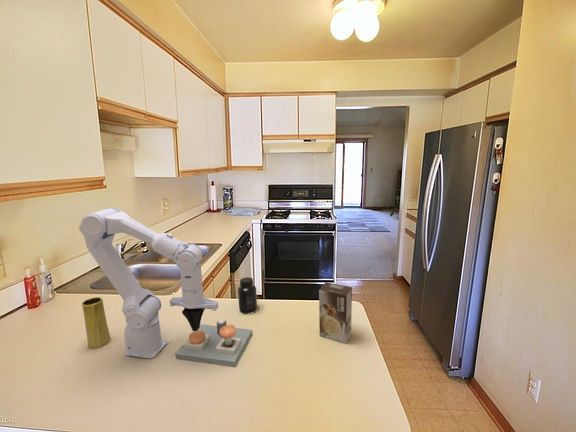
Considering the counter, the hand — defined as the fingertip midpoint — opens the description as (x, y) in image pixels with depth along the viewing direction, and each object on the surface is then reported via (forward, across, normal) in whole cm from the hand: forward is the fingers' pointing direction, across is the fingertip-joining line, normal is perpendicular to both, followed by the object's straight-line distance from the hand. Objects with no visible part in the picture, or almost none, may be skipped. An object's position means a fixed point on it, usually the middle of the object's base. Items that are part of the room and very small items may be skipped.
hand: (196, 329), depth 86 cm
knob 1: (+6, 0, 0) cm, 6 cm away
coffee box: (+6, -41, -14) cm, 43 cm away
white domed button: (+5, -5, -6) cm, 10 cm away
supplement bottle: (+6, -8, -24) cm, 26 cm away
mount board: (+6, -5, -2) cm, 8 cm away
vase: (+7, +32, +3) cm, 33 cm away
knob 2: (+3, -10, 0) cm, 11 cm away
